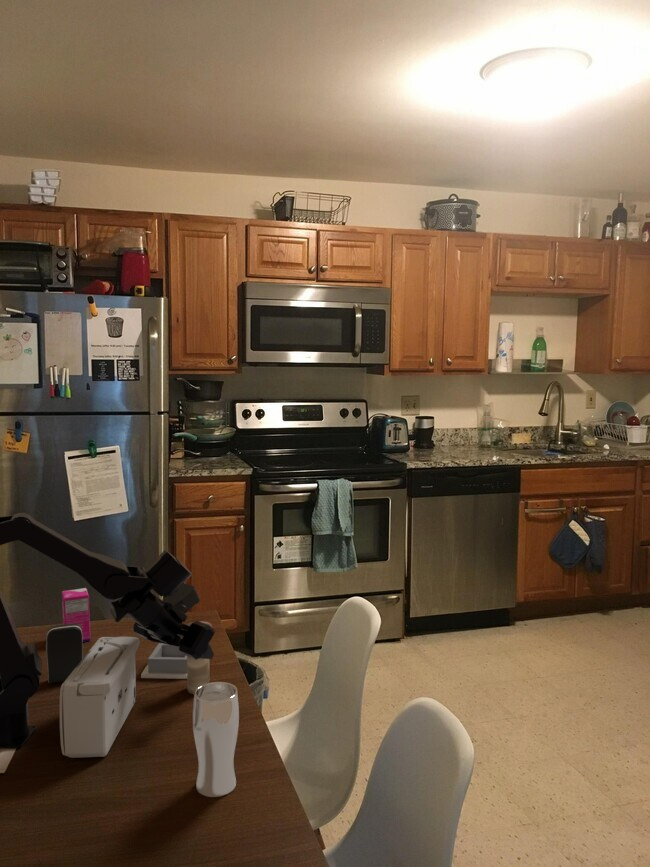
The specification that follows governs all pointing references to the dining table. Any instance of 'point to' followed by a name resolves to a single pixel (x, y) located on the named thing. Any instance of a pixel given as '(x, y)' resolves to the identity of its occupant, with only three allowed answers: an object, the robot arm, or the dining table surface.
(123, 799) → the dining table surface
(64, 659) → the battery charger
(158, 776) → the dining table surface
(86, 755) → the stereo radio cassette player
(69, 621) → the supplement box
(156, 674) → the plate
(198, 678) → the maple knob
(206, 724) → the beer glass
